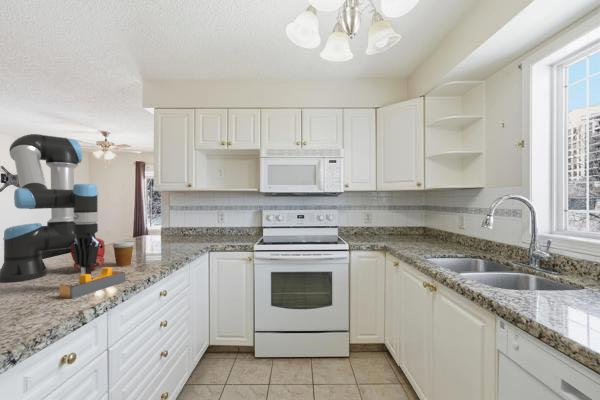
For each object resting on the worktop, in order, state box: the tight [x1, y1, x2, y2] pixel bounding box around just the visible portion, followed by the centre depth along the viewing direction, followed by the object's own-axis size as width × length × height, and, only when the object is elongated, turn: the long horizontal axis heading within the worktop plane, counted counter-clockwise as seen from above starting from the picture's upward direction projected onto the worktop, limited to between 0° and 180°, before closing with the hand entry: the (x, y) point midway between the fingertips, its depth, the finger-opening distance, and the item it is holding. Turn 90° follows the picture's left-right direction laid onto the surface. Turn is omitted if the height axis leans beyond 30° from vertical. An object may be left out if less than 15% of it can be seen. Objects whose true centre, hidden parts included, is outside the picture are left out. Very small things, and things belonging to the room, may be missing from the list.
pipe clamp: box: [78, 266, 113, 284], centre depth 107 cm, size 12×4×6 cm, turn 173°
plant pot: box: [70, 237, 106, 271], centre depth 131 cm, size 13×13×12 cm
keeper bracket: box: [59, 270, 126, 299], centre depth 105 cm, size 7×20×4 cm, turn 162°
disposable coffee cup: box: [112, 240, 135, 268], centre depth 141 cm, size 10×10×12 cm
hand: (86, 282), depth 106 cm, fingers closed
